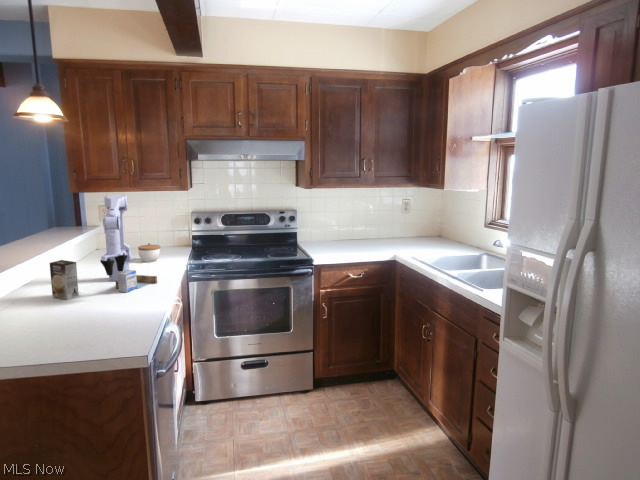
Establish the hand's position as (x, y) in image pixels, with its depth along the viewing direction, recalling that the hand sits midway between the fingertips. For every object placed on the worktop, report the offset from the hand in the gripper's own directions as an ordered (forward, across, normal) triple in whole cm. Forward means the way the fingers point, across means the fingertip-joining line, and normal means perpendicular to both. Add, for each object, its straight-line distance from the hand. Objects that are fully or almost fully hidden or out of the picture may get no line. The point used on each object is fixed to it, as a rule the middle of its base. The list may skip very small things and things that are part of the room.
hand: (115, 273), depth 194 cm
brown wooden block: (+10, +17, 0) cm, 20 cm away
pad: (+10, +17, 0) cm, 20 cm away
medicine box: (+10, +9, 0) cm, 14 cm away
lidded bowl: (+11, +67, +24) cm, 72 cm away
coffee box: (+11, -7, +20) cm, 24 cm away
